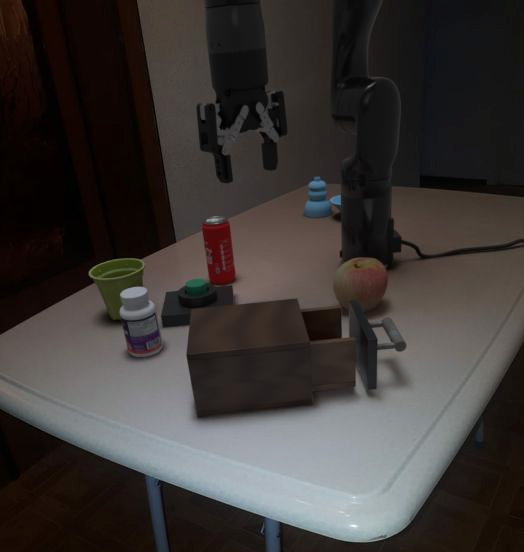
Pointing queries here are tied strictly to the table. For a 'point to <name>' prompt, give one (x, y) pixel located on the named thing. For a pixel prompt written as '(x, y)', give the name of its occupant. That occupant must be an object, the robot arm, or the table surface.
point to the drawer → (346, 346)
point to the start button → (196, 287)
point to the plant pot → (117, 281)
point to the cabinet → (249, 357)
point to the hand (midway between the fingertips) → (249, 175)
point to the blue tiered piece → (320, 200)
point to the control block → (193, 303)
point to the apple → (361, 282)
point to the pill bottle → (140, 322)
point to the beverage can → (218, 249)
